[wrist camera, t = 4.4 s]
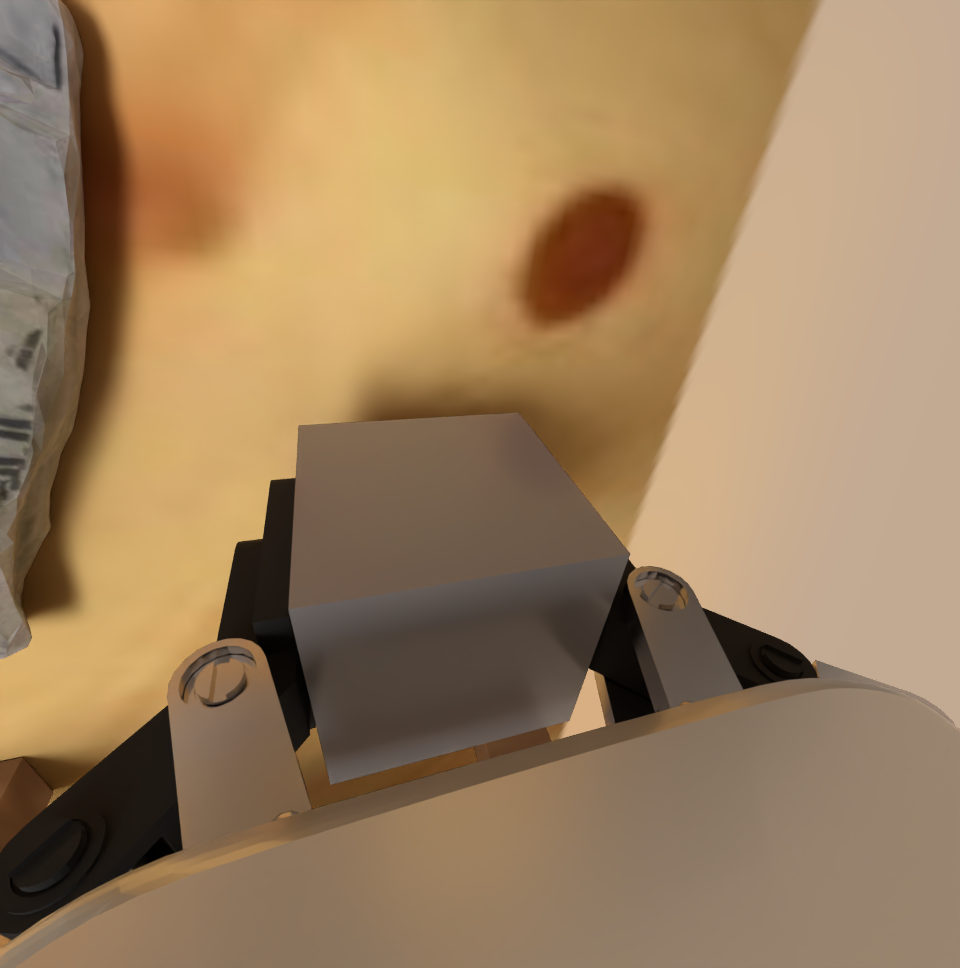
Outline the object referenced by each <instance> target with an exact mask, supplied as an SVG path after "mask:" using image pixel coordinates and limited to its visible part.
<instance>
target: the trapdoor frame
mask: <svg viewBox="0 0 960 968" xmlns="http://www.w3.org/2000/svg"><path fill="white" fill-rule="evenodd" d="M548 742H551V739H550V737H549V734H548V732H547V729H546V727H544V728H541V729H537V730H533V731H530V732H526V733H522V734H518V735H515V736H511V737H507V738H503V739H500V740H496V741H492V742H489V743H485V744H481V745H477V746H474V749H475V753H476V757H477V761H478V762H480V761H483V760H487V759H490V758H494V757H498V756H501V755H505V754H508V753H512V752H515V751H519V750H523V749H526V748H530V747H533V746H537V745H541V744H544V743H548ZM52 794H53V791H52V790H51V789H50V788H49V787H48V785H47V784H46V783H45V782H44V781H43V780H42V779H41V778H40V776H39V775H38V774H37V773H36V772H35V771H34V770H33V769H32V767H31V766H30V765H29V764H28V763H27V762H26V761H25V760H24V758H23V757H22V758H17V759H13V760H8V761H3V762H0V852H1V851H2V849H3V848H4V847H5V845H6V844H7V843H8V842H9V841H10V840H11V839H12V838H13V837H14V836H15V835H16V834H17V833H18V832H19V831H20V830H21V829H22V828H23V827H24V826H25V825H26V824H27V823H29V822H30V821H31V820H32V819H33V818H35V817H36V816H37V815H38V814H39V813H41V812H42V811H43V810H44V809H45V808H46V807H47V805H48V803H49V801H50V798H51V796H52Z"/></svg>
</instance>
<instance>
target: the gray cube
mask: <svg viewBox="0 0 960 968" xmlns="http://www.w3.org/2000/svg"><path fill="white" fill-rule="evenodd" d="M629 556H630V553H629V552H628V550H627V549H626V548H625V547H624V545H623V544H622V543H621V542H620V540H619V539H618V538H617V536H616V535H615V534H614V533H613V531H612V530H611V529H610V528H609V526H608V525H607V524H606V522H605V521H604V520H603V519H602V517H601V516H600V515H599V514H598V512H597V511H596V510H595V508H594V507H593V506H592V505H591V503H590V502H589V501H588V500H587V498H586V497H585V496H584V494H583V493H582V492H581V491H580V489H579V488H578V487H577V486H576V484H575V483H574V482H573V480H572V479H571V478H570V477H569V475H568V474H567V473H566V472H565V470H564V469H563V468H562V466H561V465H560V464H559V463H558V461H557V460H556V459H555V458H554V456H553V455H552V454H551V452H550V451H549V450H548V449H547V447H546V446H545V445H544V444H543V442H542V441H541V440H540V438H539V437H538V436H537V435H536V433H535V432H534V431H533V430H532V428H531V427H530V426H529V424H528V423H527V422H526V421H525V419H524V418H523V417H522V416H521V414H520V413H519V412H518V413H501V414H484V415H467V416H450V417H434V418H417V419H400V420H383V421H366V422H349V423H333V424H316V425H299V428H298V446H297V464H296V482H295V500H294V517H293V535H292V553H291V571H290V589H289V607H288V610H289V614H290V619H291V623H292V627H293V631H294V635H295V639H296V644H297V648H298V652H299V656H300V660H301V664H302V668H303V673H304V677H305V681H306V685H307V689H308V693H309V697H310V702H311V706H312V710H313V714H314V718H315V722H316V727H317V731H318V735H319V739H320V743H321V747H322V751H323V756H324V760H325V764H326V768H327V772H328V776H329V781H330V785H332V784H336V783H340V782H343V781H347V780H351V779H355V778H358V777H362V776H366V775H370V774H373V773H377V772H381V771H384V770H388V769H392V768H396V767H399V766H403V765H407V764H410V763H414V762H418V761H422V760H425V759H429V758H433V757H436V756H440V755H444V754H448V753H451V752H455V751H459V750H463V749H466V748H470V747H474V746H477V745H481V744H485V743H489V742H492V741H496V740H500V739H503V738H507V737H511V736H515V735H518V734H522V733H526V732H530V731H533V730H537V729H541V728H544V727H548V726H552V725H556V724H559V723H563V722H567V721H569V720H570V718H571V715H572V712H573V709H574V707H575V704H576V701H577V698H578V696H579V693H580V690H581V687H582V685H583V682H584V679H585V676H586V674H587V671H588V668H589V665H590V663H591V660H592V657H593V655H594V652H595V649H596V646H597V644H598V641H599V638H600V635H601V633H602V630H603V627H604V624H605V622H606V619H607V616H608V613H609V611H610V608H611V605H612V602H613V600H614V597H615V594H616V591H617V589H618V586H619V583H620V580H621V578H622V575H623V572H624V570H625V567H626V564H627V561H628V558H629Z"/></svg>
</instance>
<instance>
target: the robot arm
mask: <svg viewBox="0 0 960 968" xmlns="http://www.w3.org/2000/svg"><path fill="white" fill-rule="evenodd" d="M295 482H296V478H292V479H280V480H271V482H270V489H269V496H268V504H267V512H266V519H265V527H264V534H263V539H258V540H250V541H242V542H238V543H237V545H236V548H235V553H234V558H233V563H232V568H231V573H230V578H229V583H228V588H227V593H226V598H225V603H224V608H223V613H222V618H221V623H220V628H219V633H218V638H217V641H216V642H213V643H210V644H208V645H206V646H204V647H202V648H200V649H198V650H197V651H195V652H194V653H193V654H192V655H190V656H189V657H188V658H186V659H185V660H184V661H183V662H182V664H181V665H180V666H179V667H178V668H177V669H176V671H175V672H174V674H173V676H172V678H171V680H170V682H169V685H168V694H167V700H168V706H166V707H165V708H164V709H163V710H162V711H160V712H159V713H158V714H157V715H156V716H154V717H153V718H152V719H151V720H150V721H149V722H147V723H146V724H145V725H144V726H143V727H141V728H140V729H139V730H138V731H137V732H135V733H134V734H133V735H132V736H131V737H130V738H128V739H127V740H126V741H125V742H124V743H122V744H121V745H120V746H119V747H118V748H116V749H115V750H114V751H113V752H112V753H111V754H109V755H108V756H107V757H106V758H105V759H103V760H102V761H101V762H100V763H99V764H98V765H96V766H95V767H94V768H93V769H92V770H90V771H89V772H88V773H87V774H86V775H84V776H83V777H82V778H81V779H80V780H79V781H77V782H76V783H75V784H74V785H73V786H71V787H70V788H69V789H68V790H67V791H65V792H64V793H63V794H62V795H61V796H60V797H58V798H57V799H56V800H55V801H54V802H52V803H51V804H50V805H49V806H48V807H46V808H45V809H44V810H43V811H42V812H41V813H39V814H38V815H37V816H36V817H35V818H33V819H32V820H31V821H30V822H29V823H27V824H26V825H25V826H24V827H23V828H22V829H21V830H20V831H19V832H18V833H17V834H16V835H15V836H14V837H13V838H12V839H11V840H10V841H9V842H8V843H7V844H6V845H5V847H4V848H3V849H2V851H1V852H0V968H960V729H959V728H957V727H956V726H955V724H954V723H953V721H952V720H951V719H950V718H949V717H948V716H947V715H946V714H945V713H944V712H942V710H941V709H939V708H938V707H936V706H935V705H933V704H932V703H930V702H929V701H927V700H926V699H924V698H921V697H919V696H917V695H915V694H912V693H910V692H907V691H904V690H901V689H898V688H895V687H893V686H889V685H886V684H884V683H881V682H878V681H875V680H872V679H869V678H866V677H863V676H860V675H857V674H854V673H852V672H849V671H846V670H843V669H840V668H837V667H834V666H831V665H828V664H825V663H823V662H820V661H817V660H815V661H814V662H813V664H811V663H810V661H809V660H808V659H807V658H806V657H805V656H804V655H803V654H802V653H801V652H799V651H798V650H797V649H795V648H794V647H793V646H791V645H790V644H788V643H786V642H784V641H782V640H780V639H778V638H776V637H773V636H771V635H768V634H766V633H764V632H761V631H759V630H756V629H754V628H751V627H749V626H746V625H744V624H741V623H739V622H736V621H734V620H731V619H729V618H727V617H724V616H722V615H719V614H717V613H714V612H712V611H709V610H707V609H704V608H702V607H701V605H700V603H699V601H698V599H697V598H696V595H695V593H694V592H693V590H692V589H691V587H690V586H689V585H688V583H687V582H685V581H684V580H683V579H682V578H681V577H679V576H678V575H676V574H674V573H672V572H671V571H668V570H665V569H662V568H659V567H653V566H646V567H640V568H637V569H636V568H635V567H634V566H633V564H632V563H631V562H630V560H629V559H628V561H627V564H626V567H625V570H624V572H623V575H622V578H621V580H620V583H619V586H618V589H617V591H616V594H615V597H614V600H613V602H612V605H611V608H610V611H609V613H608V616H607V619H606V622H605V624H604V627H603V630H602V633H601V635H600V638H599V641H598V644H597V646H596V649H595V652H594V655H593V657H592V660H591V663H590V665H589V669H591V670H593V671H595V679H596V683H597V688H598V692H599V697H600V701H601V706H602V709H603V714H604V719H605V724H606V726H605V727H602V728H598V729H595V730H591V731H587V732H584V733H580V734H576V735H573V736H569V737H566V738H562V739H558V740H555V741H551V742H548V743H544V744H541V745H537V746H533V747H530V748H526V749H523V750H519V751H515V752H512V753H508V754H505V755H501V756H498V757H494V758H490V759H487V760H483V761H480V762H476V763H473V764H469V765H465V766H462V767H458V768H455V769H451V770H448V771H444V772H441V773H437V774H434V775H430V776H427V777H423V778H420V779H416V780H413V781H409V782H406V783H402V784H399V785H395V786H392V787H388V788H385V789H381V790H377V791H374V792H370V793H367V794H363V795H360V796H356V797H353V798H349V799H346V800H342V801H339V802H335V803H332V804H328V805H325V806H321V807H318V808H315V809H312V806H311V802H310V799H309V796H308V792H307V789H306V786H305V782H304V779H303V776H302V772H301V769H300V766H299V762H298V759H297V756H296V751H297V749H298V748H299V747H300V746H301V745H302V744H303V742H304V741H305V740H306V739H307V738H308V737H309V735H310V729H312V728H316V722H315V718H314V714H313V710H312V706H311V702H310V697H309V693H308V689H307V685H306V681H305V677H304V673H303V668H302V664H301V660H300V656H299V652H298V648H297V644H296V639H295V635H294V631H293V627H292V623H291V619H290V614H289V610H288V607H289V589H290V571H291V553H292V535H293V517H294V500H295Z"/></svg>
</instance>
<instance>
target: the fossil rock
mask: <svg viewBox="0 0 960 968" xmlns="http://www.w3.org/2000/svg"><path fill="white" fill-rule="evenodd" d="M83 57H84V54H83V49H82V43H81V39H80V36H79V33H78V30H77V27H76V24H75V21H74V19H73V16H72V15H71V13H70V11H69V10H68V8H67V7H66V5H65V4H64V3H63V2H62V1H61V0H0V659H3V658H6V657H8V656H10V655H12V654H14V653H16V652H18V651H20V650H22V649H24V648H26V647H28V645H29V643H30V641H31V638H32V635H31V631H30V627H29V624H28V621H27V619H26V616H25V613H24V610H23V609H22V607H21V605H22V601H21V600H22V599H21V598H22V595H21V593H22V591H23V586H24V578H25V577H26V575H27V573H28V571H29V569H30V567H31V565H32V563H33V561H34V559H35V556H36V554H37V552H38V550H39V548H40V546H41V544H42V542H43V540H44V539H45V537H46V535H47V534H48V532H49V530H50V529H51V524H50V516H49V509H50V491H51V487H52V484H53V481H54V478H55V475H56V472H57V468H58V464H59V459H60V455H61V452H62V450H63V448H64V446H65V444H66V442H67V440H68V438H69V436H70V434H71V432H72V430H73V426H74V422H75V418H76V414H77V408H78V401H79V395H80V389H81V383H82V378H83V374H84V362H85V349H86V335H87V326H88V319H89V313H90V307H91V306H90V298H89V290H88V282H87V275H86V267H85V259H84V253H85V217H84V196H83V178H82V159H81V139H80V90H81V80H82V69H83Z"/></svg>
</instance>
